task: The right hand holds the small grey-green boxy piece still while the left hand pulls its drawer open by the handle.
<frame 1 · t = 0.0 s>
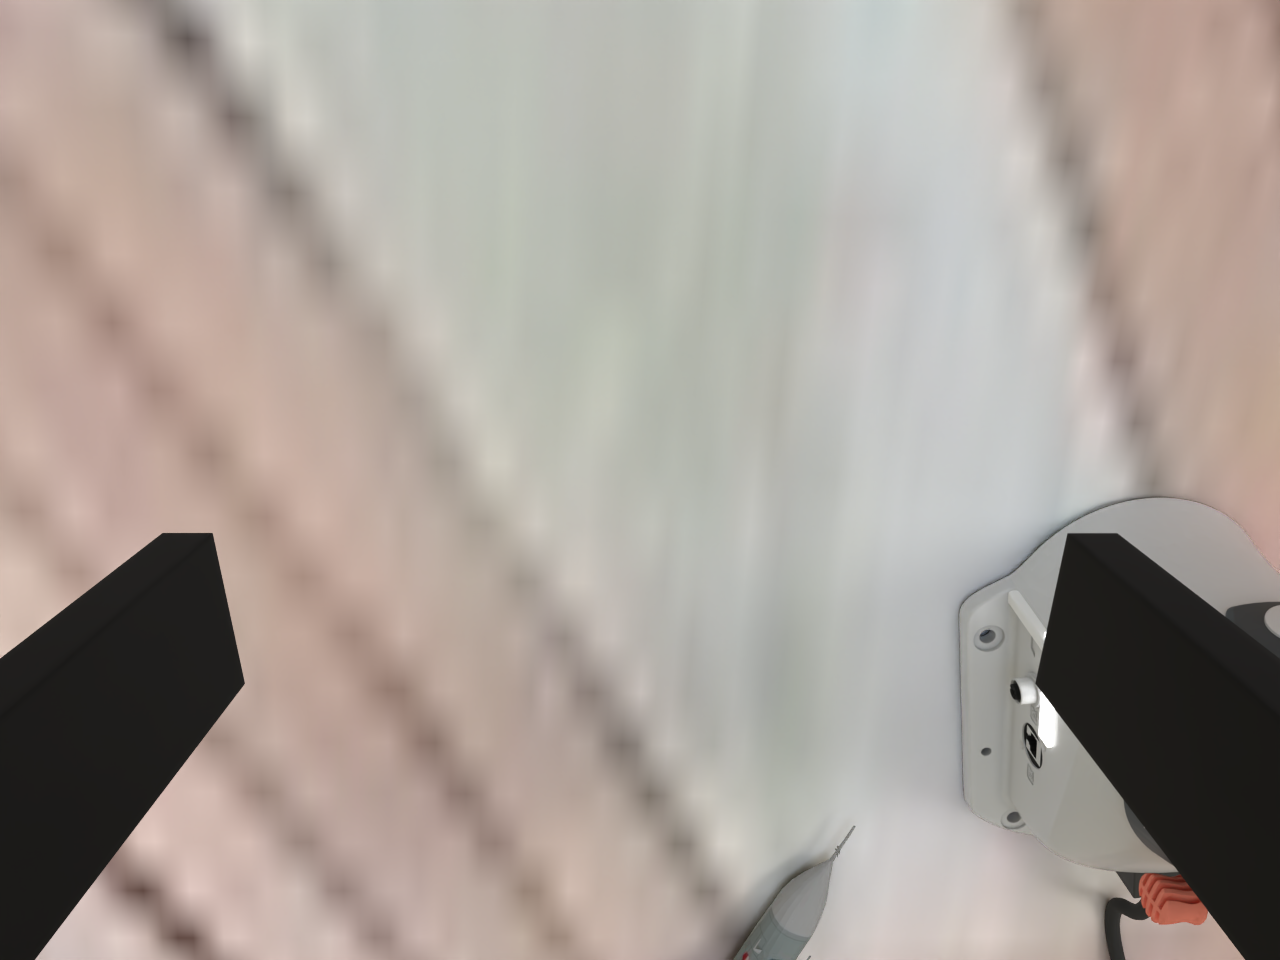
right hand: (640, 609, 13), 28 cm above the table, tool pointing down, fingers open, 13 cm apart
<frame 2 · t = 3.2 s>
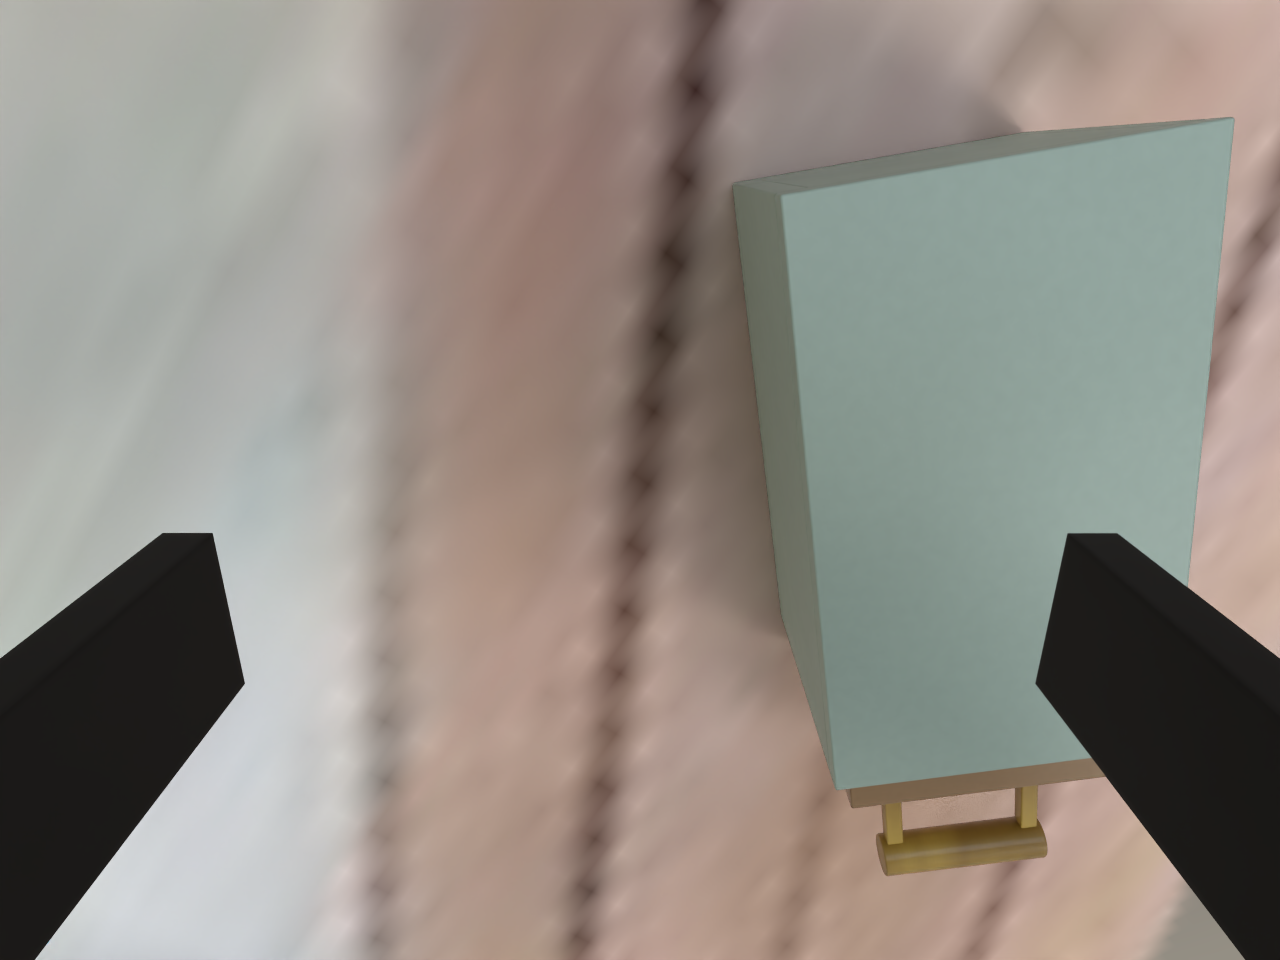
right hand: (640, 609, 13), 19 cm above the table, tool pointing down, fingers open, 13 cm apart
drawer: (940, 587, 28), point 5 cm above the table, slide at 0.5 cm
grey-green boxy piece: (890, 401, 31), on the table
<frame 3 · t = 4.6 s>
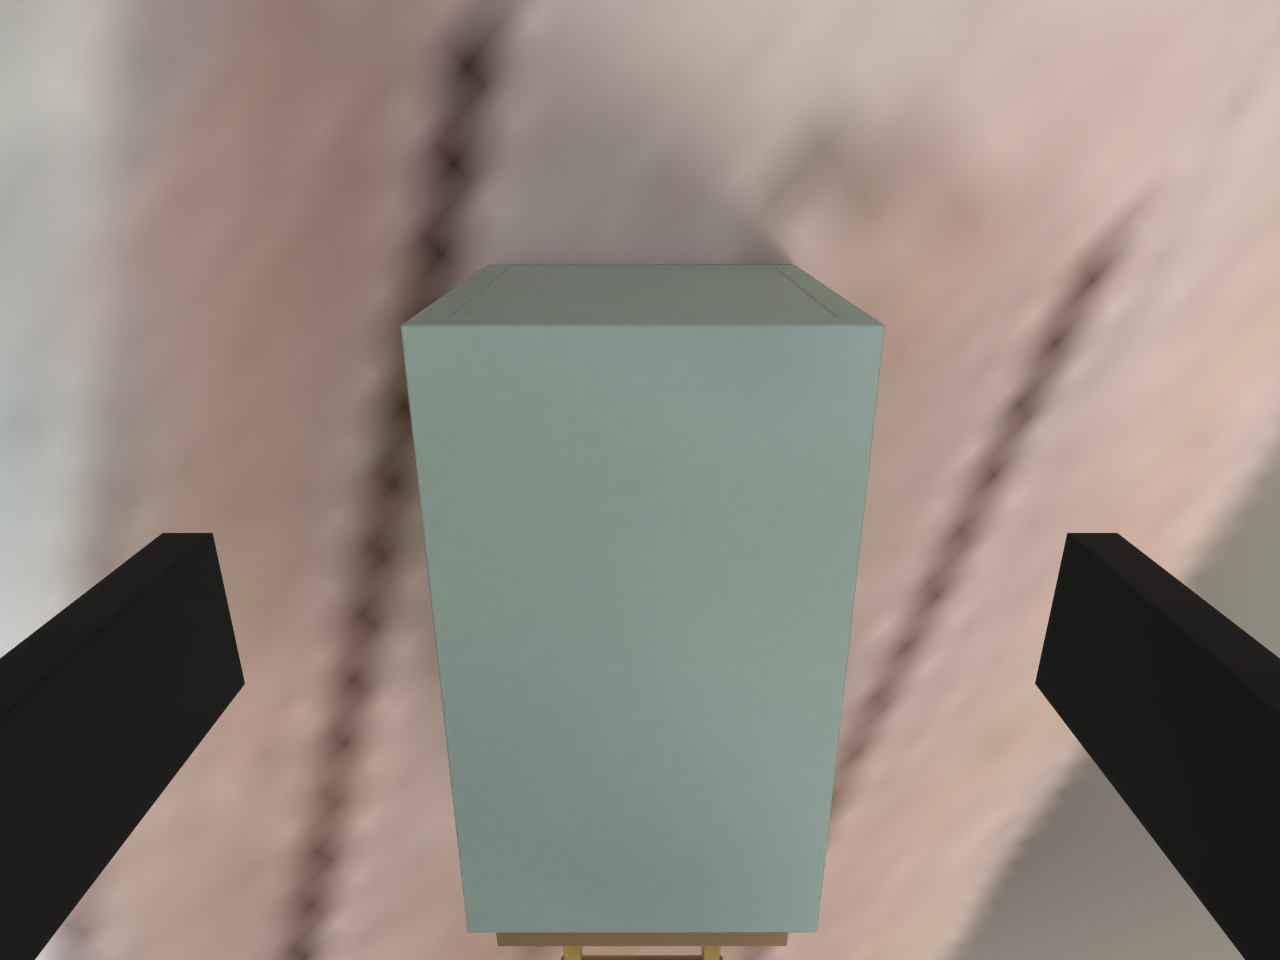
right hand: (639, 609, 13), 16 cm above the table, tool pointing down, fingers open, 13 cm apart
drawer: (641, 719, 27), point 5 cm above the table, slide at 0.5 cm
grey-green boxy piece: (641, 510, 29), on the table
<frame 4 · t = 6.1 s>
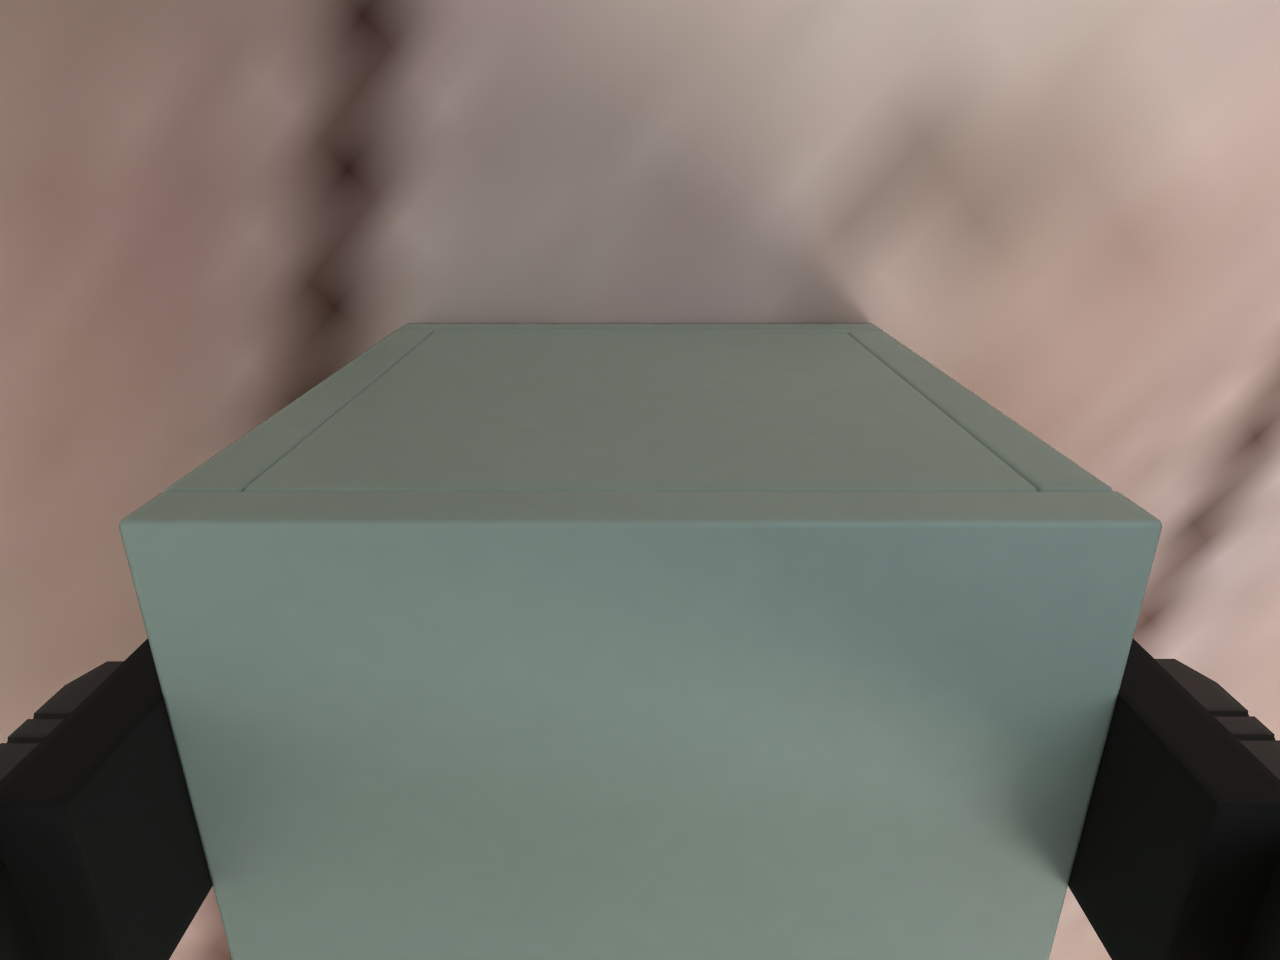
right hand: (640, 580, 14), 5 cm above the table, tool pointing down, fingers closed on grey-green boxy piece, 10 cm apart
grey-green boxy piece: (639, 667, 20), on the table, touching right hand
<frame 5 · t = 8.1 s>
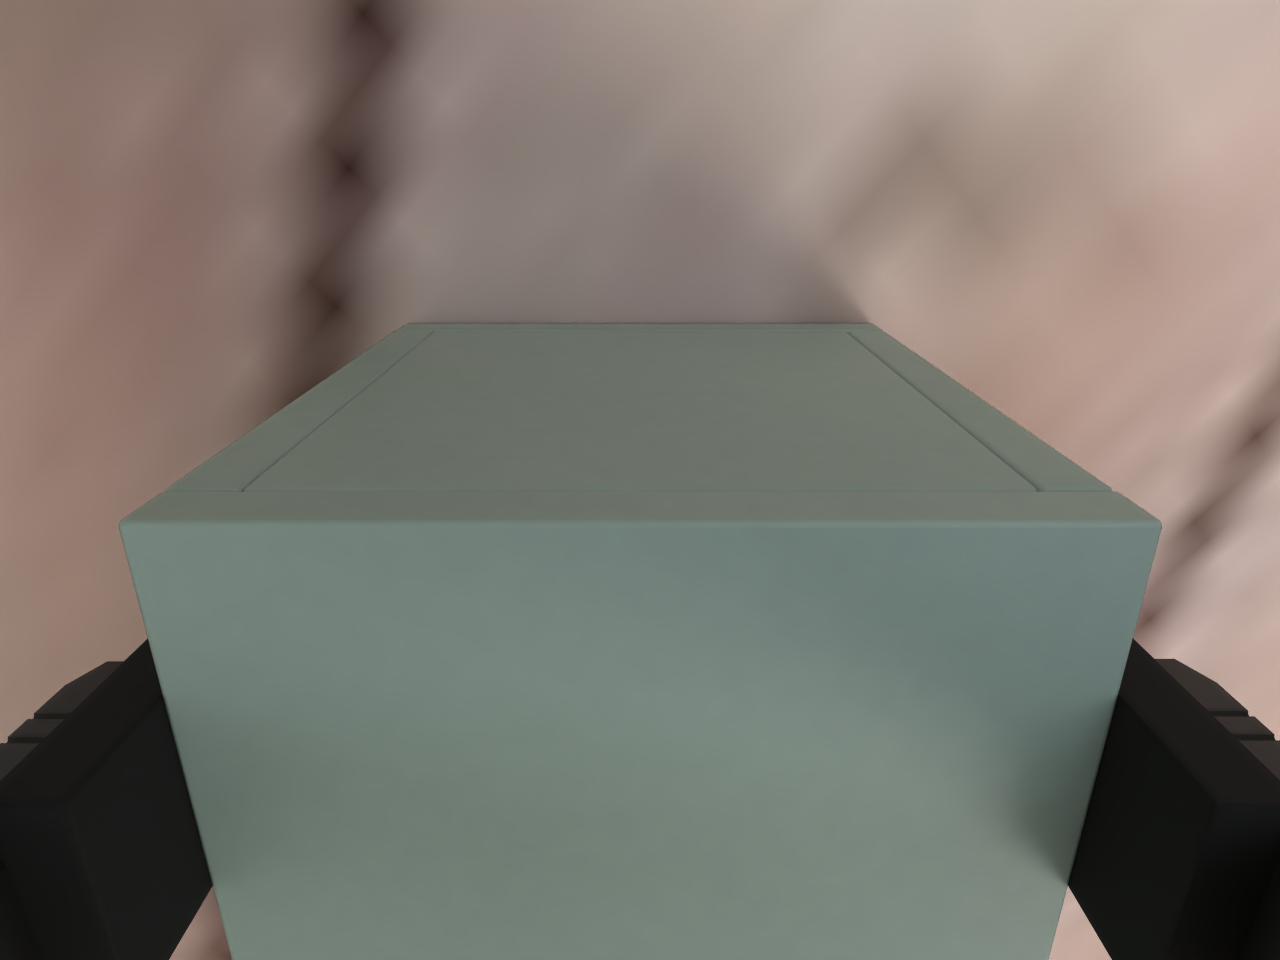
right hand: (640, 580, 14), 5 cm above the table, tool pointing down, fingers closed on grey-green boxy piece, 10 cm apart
grey-green boxy piece: (639, 667, 20), on the table, touching right hand
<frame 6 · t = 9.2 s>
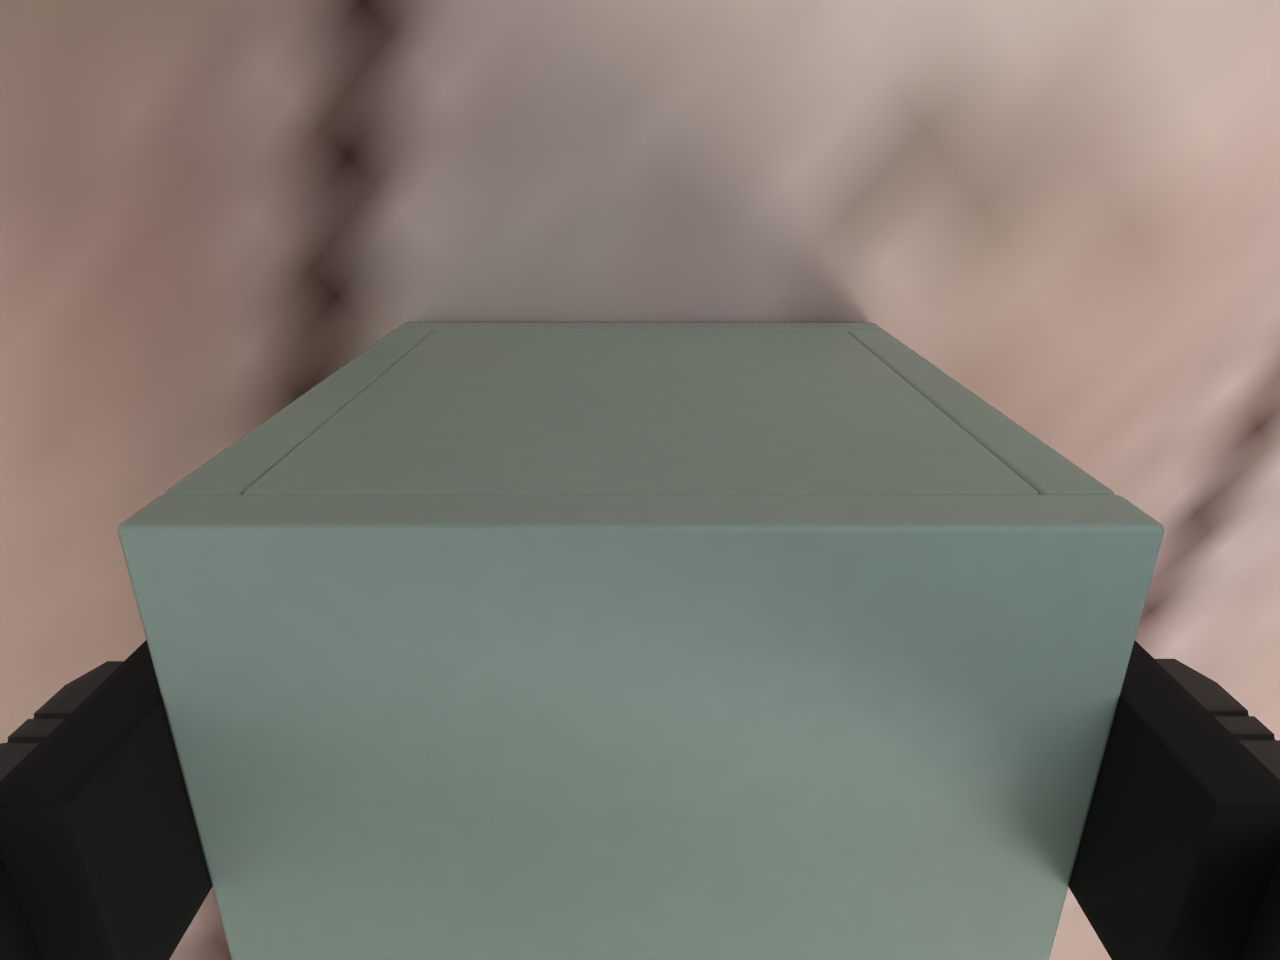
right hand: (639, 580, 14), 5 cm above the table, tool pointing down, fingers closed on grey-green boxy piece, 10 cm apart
grey-green boxy piece: (639, 665, 20), on the table, touching right hand
when the right hand's fingers open (5 cm above the table, at t = 11.1 s): grey-green boxy piece stays where it is, on the table.
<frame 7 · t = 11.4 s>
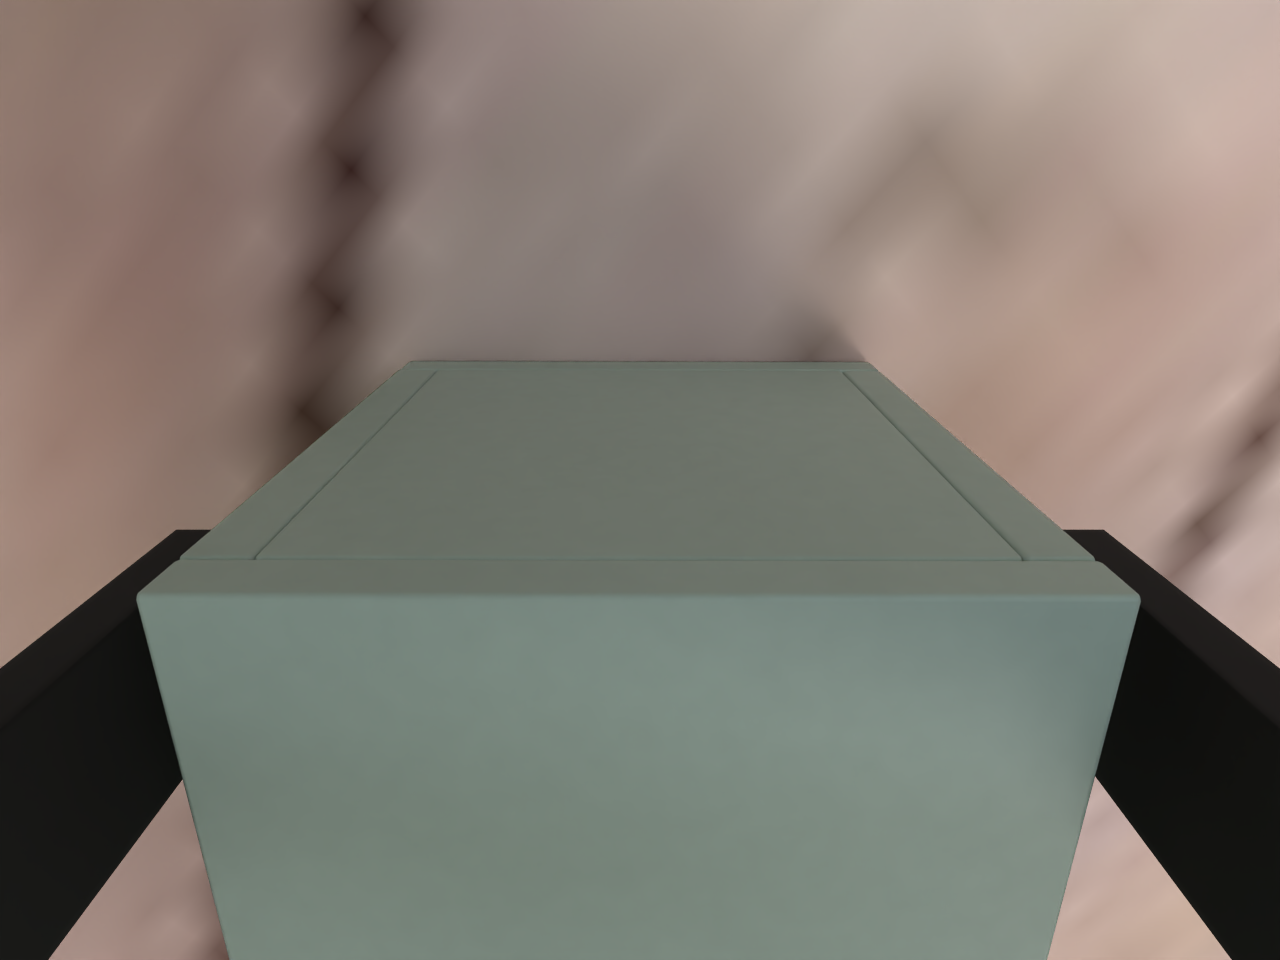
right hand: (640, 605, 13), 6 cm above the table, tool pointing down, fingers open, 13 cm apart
grey-green boxy piece: (638, 694, 21), on the table
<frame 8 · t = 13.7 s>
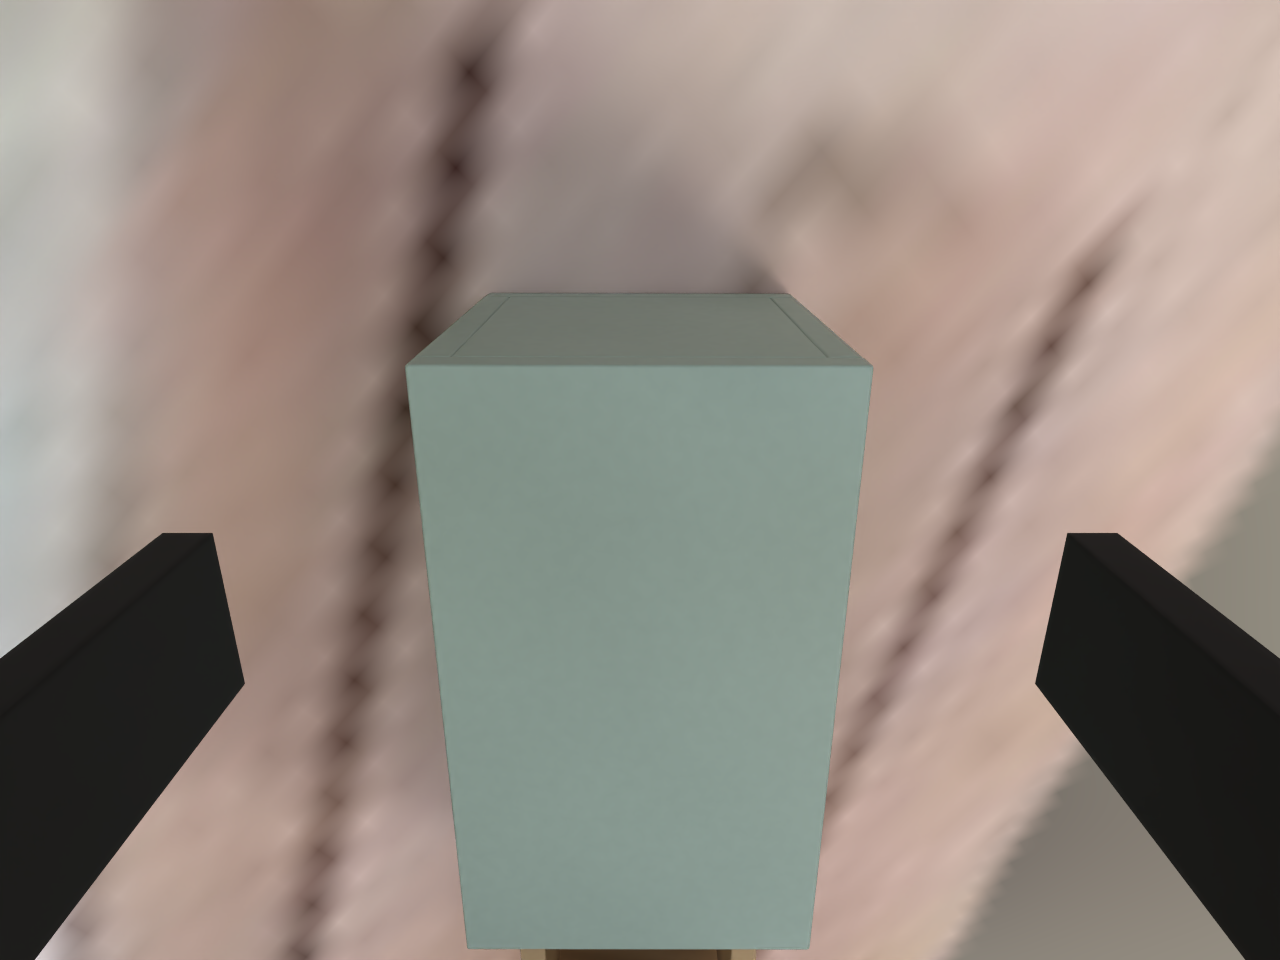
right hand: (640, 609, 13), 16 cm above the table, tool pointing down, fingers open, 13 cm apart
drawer: (638, 885, 29), point 5 cm above the table, slide at 7.1 cm
grey-green boxy piece: (639, 531, 30), on the table
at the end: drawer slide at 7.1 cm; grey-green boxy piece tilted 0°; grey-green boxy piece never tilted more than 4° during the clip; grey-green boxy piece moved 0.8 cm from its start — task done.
